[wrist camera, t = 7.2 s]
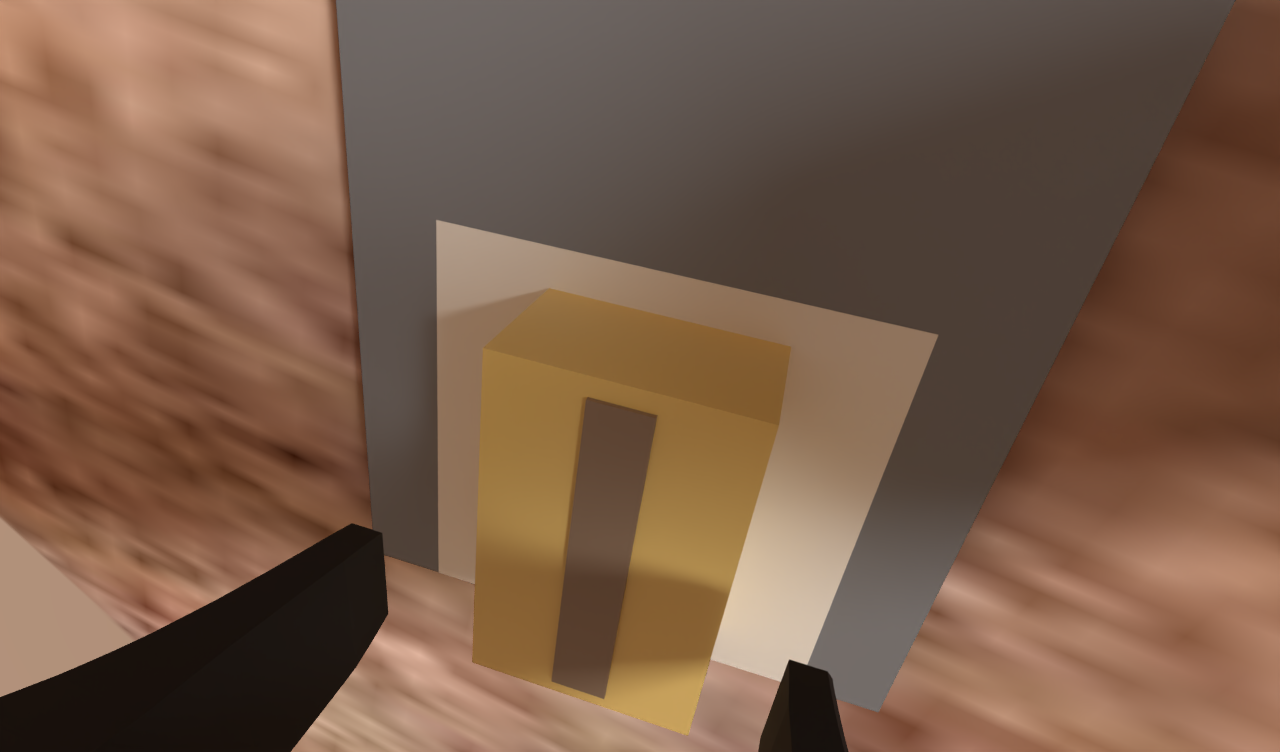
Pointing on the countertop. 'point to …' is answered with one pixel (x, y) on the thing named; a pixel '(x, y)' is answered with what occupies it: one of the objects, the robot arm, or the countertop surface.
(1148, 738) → the countertop surface
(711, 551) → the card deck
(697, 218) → the mat
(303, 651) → the robot arm
